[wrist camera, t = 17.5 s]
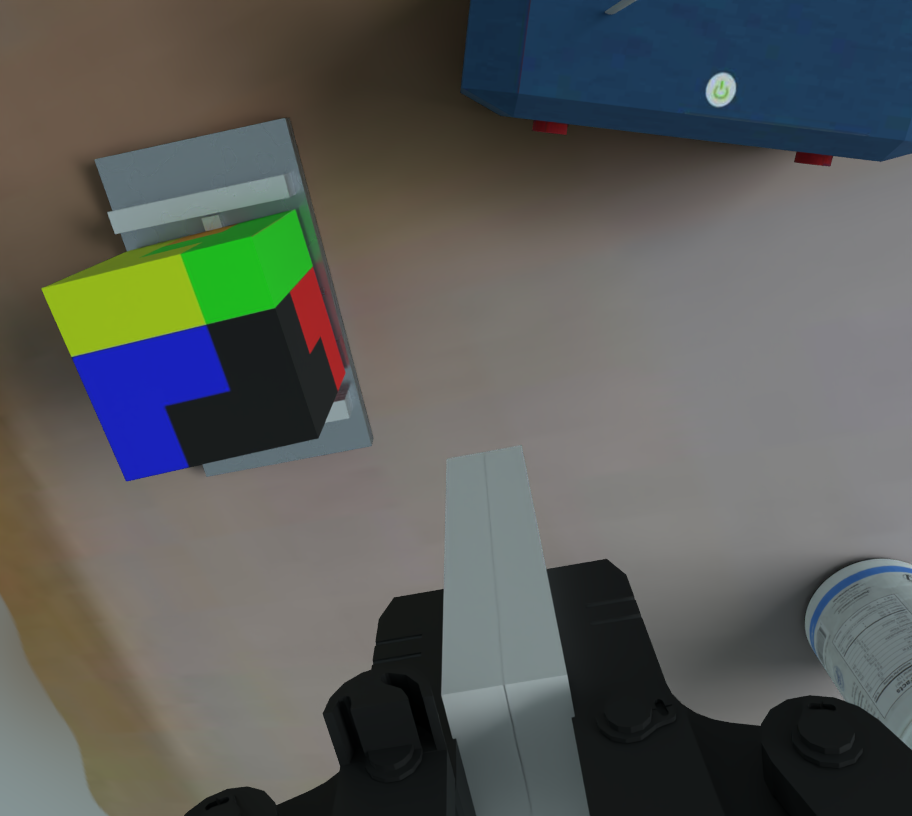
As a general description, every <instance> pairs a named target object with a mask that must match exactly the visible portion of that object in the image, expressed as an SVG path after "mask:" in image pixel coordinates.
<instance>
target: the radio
mask: <svg viewBox="0 0 912 816" xmlns="http://www.w3.org/2000/svg"><path fill="white" fill-rule="evenodd" d="M460 93H462V94H464V95H465V96H467V97H469V98H471V99H472V100H474V101H476V102H478V103H479V104H481V105H483V106H485V107H486V108H488V109H490V110H491V111H493V112H495V113H497V114H498V115H500V116H506V117H515V118H523V119H531V120H534V122H533V129H532V131H538V132H545V133H554V134H563V135H566V134H567V127H568V124H573V125H581V126H589V127H597V128H606V129H614V130H622V131H631V132H639V133H647V134H655V135H664V136H672V137H680V138H689V139H697V140H705V141H713V142H722V143H730V144H738V145H747V146H755V147H763V148H771V149H780V150H788V151H796V156H795V160H794V162H796V163H803V164H812V165H821V166H831V162H832V158H833V156H838V157H846V158H855V159H863V160H872V161H880V162H881V161H885V160H889V159H892V158H896V157H900V156H904V155H907V154H911V153H912V0H470V6H469V15H468V25H467V34H466V43H465V53H464V62H463V72H462V81H461V91H460Z"/></svg>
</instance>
